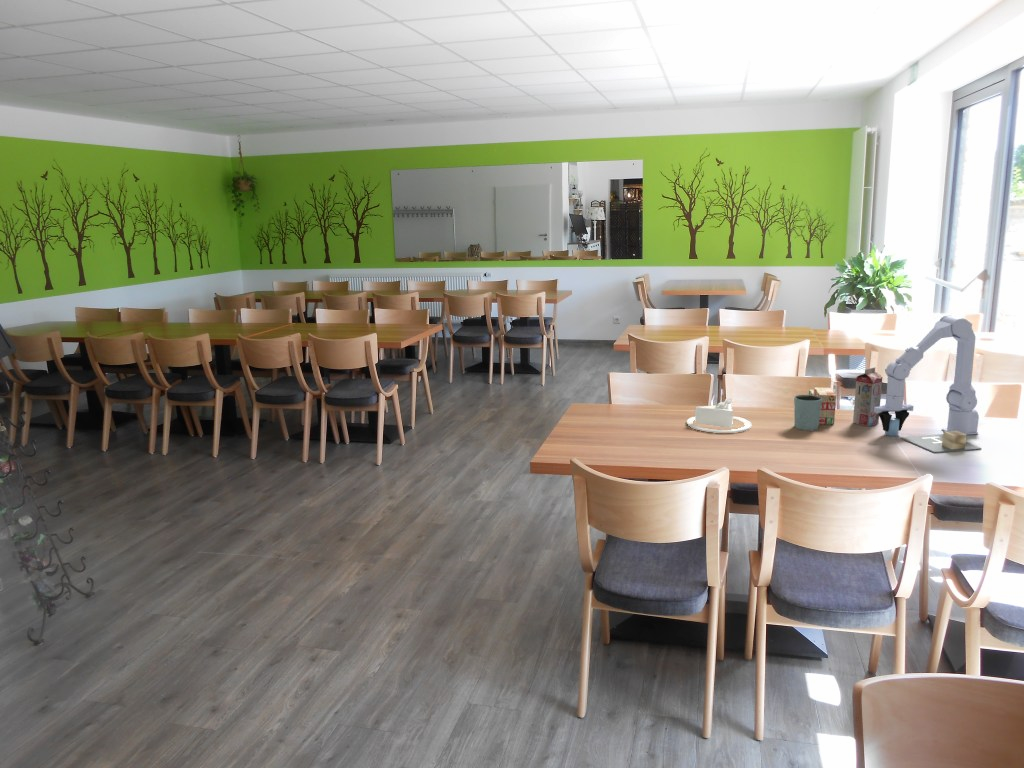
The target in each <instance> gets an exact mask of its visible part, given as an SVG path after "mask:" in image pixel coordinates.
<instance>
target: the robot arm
mask: <svg viewBox="0 0 1024 768" xmlns="http://www.w3.org/2000/svg"><path fill="white" fill-rule="evenodd" d="M946 338H952V339H954V340H956V342H957V343H956V344H957V347H956V355H955V358H956V359H955V367H954V379H953V383H952V384H951V385H949V390H948V392H947V393H946V397H945V400H946V402H947V404H948V416H947V417H948V419H947V426H946V428H945V427H943V428H941V431H942V432H945V431H958V432H961V433H964V434H966V435H968V436H969V435H978V433H979V432H978V427H979V419H980V417H979V413H978V411H977V409H975V408H976V407H977V405H978V398H977V397H976V389H975V388H974V386H973V385H972V380H973V379H972V378H973V368H974V367H973V366H974V358H975V357H974V356H975V347H976V334H975V332H974V330H973V323H972V322H970V321H969V320H968V319H966V318H964V317H963V318H962V317H957V316H952V315H949V314H947V315H944V316H942V317H941V318H940V319H939V320H937V321H936V322H935V324H934V326H933V328H931V330H930V331H929V332H928V333H927V334H926V335H925V336H924V338H922V340H921V341H919V342H918V344H917V345H916V346H910V347H909V348H906V349H905V350H904V351H905V352H904V353H902V355H900V356H899V357H898V358H896V359H895V361H892V362H890V363H889V364H888V365H887V366H886V368H884V370H885V374H886V376H887V382H886V383H887V384H886V385H887V386H886V393H885V394H886V395H885V396H886V397H885V403H884V404H883V405H880V406H879V407H874V412H875V413H878V415H879V420H880V422H881V426H882V431H884V432H885V431H886V432H888V430H889V423H890V419H891V417H892V416H893V415H892V414H890V413H891V412H892V413H893V412H894V415H895V416H894V417H895V418H898V419H900V422H899V432H900V431H901V430H902V428H903V426H904V423H905V421H906V419H907V418H908V417H909V416H910V412H913V411H914V405H911V404H904V399H905V397H904V396H905V385H906V378H908V377H909V376H910V373H911V371H912V369H913V368H914V367H915V366H916V365H917V364H918V363H919V362H920V361H921V360H923V358H924V353H925V352H927V351H928V350H929V349H930V348H931V347H933V346H934V345H935V344H936V343H937V342H939V341H940V340H941V339H946ZM892 418H893V417H892Z"/></svg>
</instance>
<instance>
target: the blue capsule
mask: <svg viewBox="0 0 1024 768" xmlns="http://www.w3.org/2000/svg"><path fill="white" fill-rule="evenodd" d="M899 422H900V419H898V418H896V417H891V419H890V423H889V430H888V432H886V431H884V435H885V434H886V435H885V436H887V435H889V436H888V437H898V436H899V433H900V431H899Z"/></svg>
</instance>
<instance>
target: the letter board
mask: <svg viewBox="0 0 1024 768" xmlns="http://www.w3.org/2000/svg"><path fill="white" fill-rule="evenodd" d="M900 440H903V441H906V442H908V443H910V444H912V445H915V446H917V447H919V448H922V449H924V450H926V451H929V452H931V453H933V454H939V453H940V454H941V453H942V454H943V453H954V452H964V451H965V452H966V451H967V452H968V451H977V450H976V449H981V450H982V447H979V446H978V445H974V444H971V443H969V442H967V441H966V445H965V449H950V448H947V447H945V446H943V445H942V440H943V433H937V434H923V435H910V436H900Z"/></svg>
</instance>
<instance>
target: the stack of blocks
mask: <svg viewBox="0 0 1024 768" xmlns="http://www.w3.org/2000/svg"><path fill="white" fill-rule="evenodd" d="M808 395H814V396H819V397H821V398H822V404H821V410H820V418H819V425H830V424H834V425H835V419H836V417H835V415H836V408H837V407H836V405H837V396H838V395H837V394H836V393H835V391H834V390H832V389H831V388H830V387H815V386H814V387H813V389H808Z"/></svg>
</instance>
